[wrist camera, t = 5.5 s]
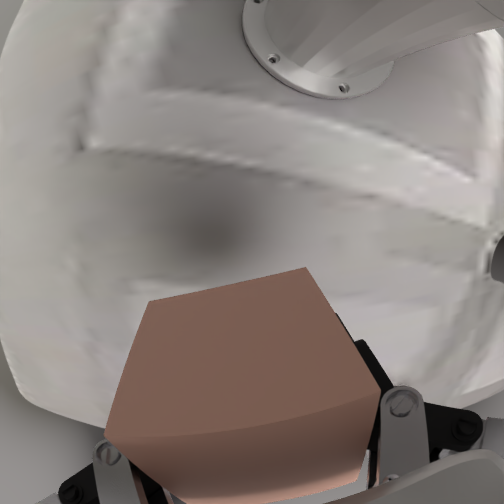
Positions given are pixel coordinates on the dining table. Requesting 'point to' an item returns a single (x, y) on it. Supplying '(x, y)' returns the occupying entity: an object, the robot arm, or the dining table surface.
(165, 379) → the clay cube
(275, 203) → the dining table surface
